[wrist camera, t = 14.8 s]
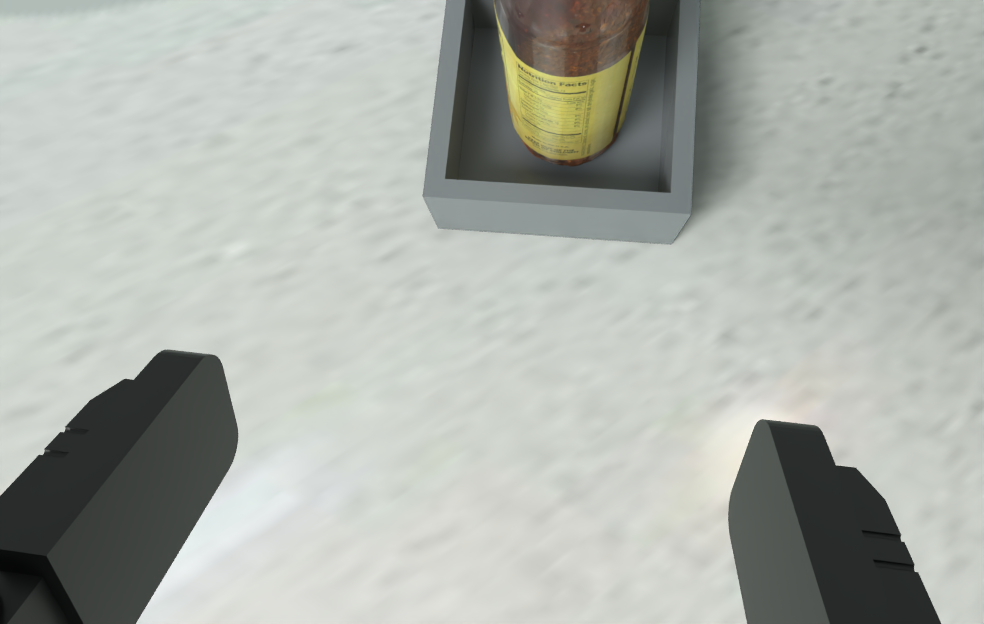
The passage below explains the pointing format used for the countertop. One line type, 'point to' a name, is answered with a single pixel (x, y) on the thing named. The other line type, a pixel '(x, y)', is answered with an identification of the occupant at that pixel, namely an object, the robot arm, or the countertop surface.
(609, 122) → the sauce bottle
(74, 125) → the countertop surface
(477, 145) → the gray tray
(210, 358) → the robot arm
